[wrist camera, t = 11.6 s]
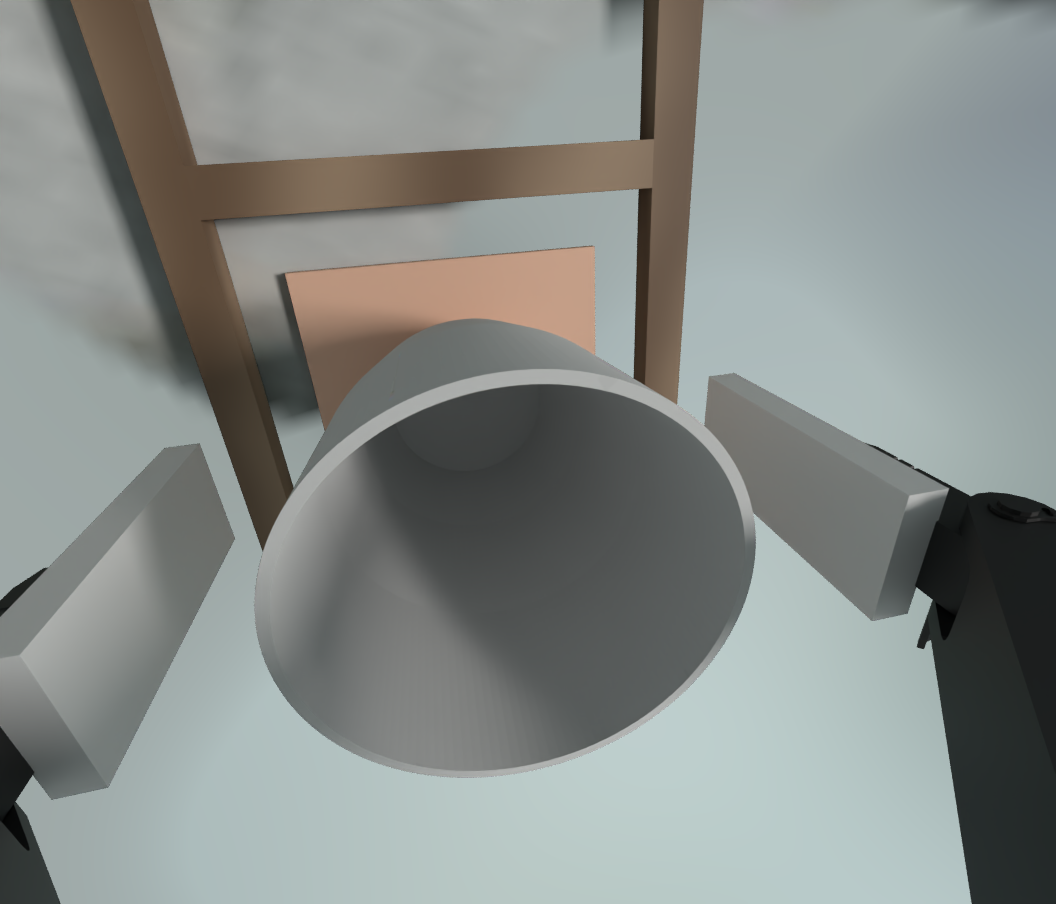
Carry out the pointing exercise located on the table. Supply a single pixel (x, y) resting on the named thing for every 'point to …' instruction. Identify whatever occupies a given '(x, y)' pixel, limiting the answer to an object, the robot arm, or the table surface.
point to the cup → (500, 556)
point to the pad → (433, 307)
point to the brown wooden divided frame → (382, 181)
